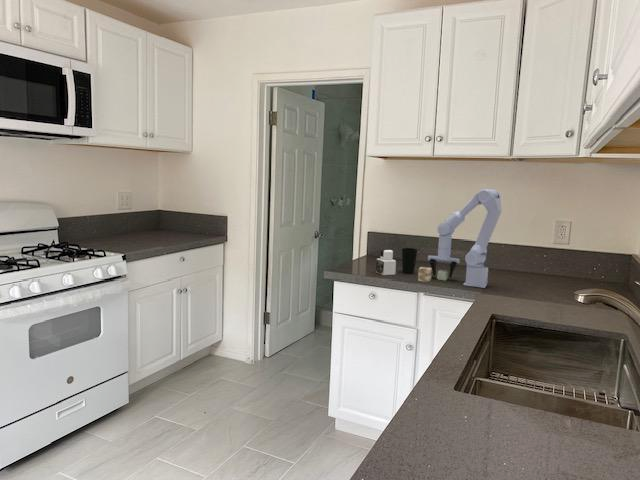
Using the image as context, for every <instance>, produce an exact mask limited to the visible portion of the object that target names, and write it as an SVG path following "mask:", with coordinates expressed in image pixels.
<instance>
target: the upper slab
mask: <svg viewBox="0 0 640 480" xmlns="http://www.w3.org/2000/svg"><path fill="white" fill-rule="evenodd" d="M432 272H433V270H432V267H427V266H420V267H419V268H418V272H417V273H418V275H424V276H430V275H431V276H432Z"/></svg>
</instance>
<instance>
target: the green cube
mask: <svg viewBox="0 0 640 480" xmlns="http://www.w3.org/2000/svg"><path fill="white" fill-rule="evenodd" d="M448 272H449V271H448V270H444V269H443V270H442V269H439V270H438V271H437V274H436V276H437V277H436V280H437V279H438V281H447V280H448V274H449V273H448Z"/></svg>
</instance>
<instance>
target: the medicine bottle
mask: <svg viewBox="0 0 640 480" xmlns="http://www.w3.org/2000/svg"><path fill="white" fill-rule="evenodd" d="M393 256H394V251H393V250H392V249H387V248H384V249H380V255H379V257H380V258H376V264H375V265H376V266H375V267H376V268H375V273H376V274H379V275H381V276H390V275H391V276H394V275H396V269H397V268H396V267H397V261H396V260H395V259H393Z"/></svg>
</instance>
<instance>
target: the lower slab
mask: <svg viewBox="0 0 640 480" xmlns="http://www.w3.org/2000/svg"><path fill="white" fill-rule="evenodd" d="M417 281H418V282H425V283H430V282H431V281H432V274H431V275H430V276H424V275H418V276H417Z"/></svg>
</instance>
